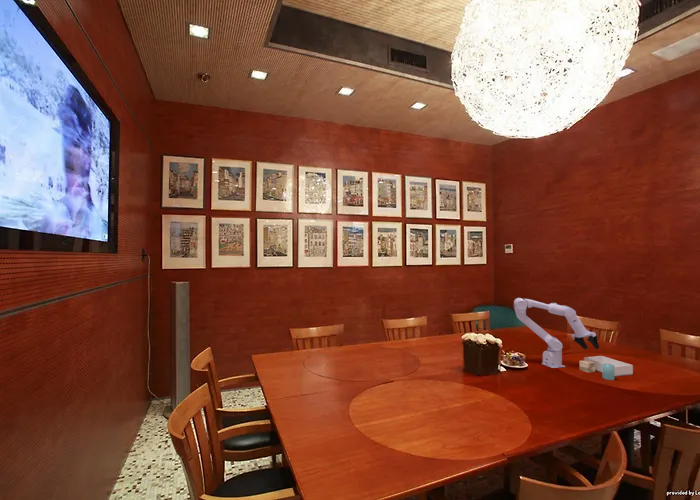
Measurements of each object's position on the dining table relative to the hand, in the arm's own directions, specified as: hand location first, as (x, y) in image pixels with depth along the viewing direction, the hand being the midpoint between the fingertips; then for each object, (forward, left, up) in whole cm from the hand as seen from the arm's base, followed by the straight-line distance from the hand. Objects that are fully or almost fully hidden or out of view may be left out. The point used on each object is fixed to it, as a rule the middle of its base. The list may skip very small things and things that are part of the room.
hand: (591, 348), depth 194 cm
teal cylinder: (-5, -14, -11) cm, 19 cm away
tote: (+7, -4, -11) cm, 14 cm away
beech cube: (-5, -2, -12) cm, 13 cm away
